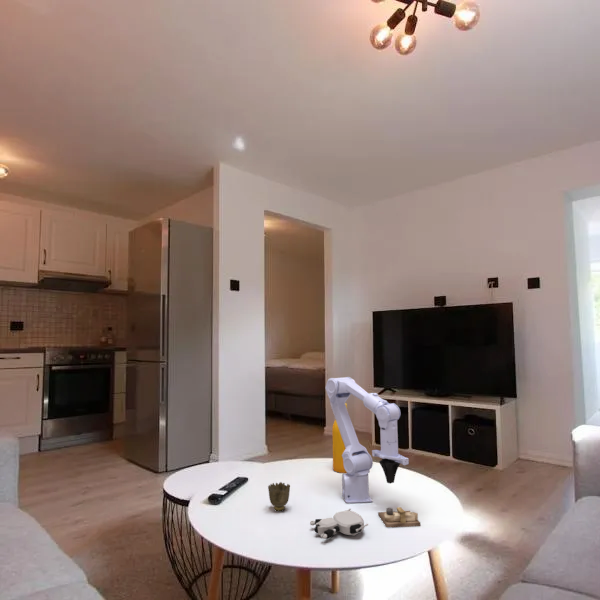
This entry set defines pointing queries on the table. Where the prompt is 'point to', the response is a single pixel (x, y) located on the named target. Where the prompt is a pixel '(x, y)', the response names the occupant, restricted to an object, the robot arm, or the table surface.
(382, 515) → the board
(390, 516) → the link
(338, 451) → the beer bottle
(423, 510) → the table surface
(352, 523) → the robot toy
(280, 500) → the cup
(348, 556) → the table surface
